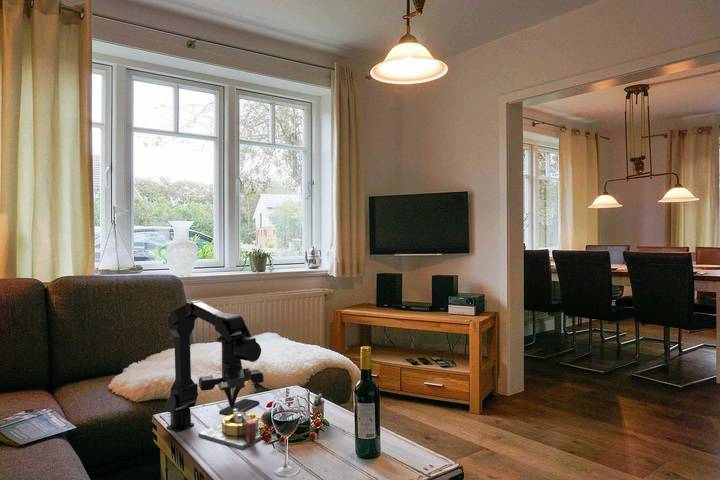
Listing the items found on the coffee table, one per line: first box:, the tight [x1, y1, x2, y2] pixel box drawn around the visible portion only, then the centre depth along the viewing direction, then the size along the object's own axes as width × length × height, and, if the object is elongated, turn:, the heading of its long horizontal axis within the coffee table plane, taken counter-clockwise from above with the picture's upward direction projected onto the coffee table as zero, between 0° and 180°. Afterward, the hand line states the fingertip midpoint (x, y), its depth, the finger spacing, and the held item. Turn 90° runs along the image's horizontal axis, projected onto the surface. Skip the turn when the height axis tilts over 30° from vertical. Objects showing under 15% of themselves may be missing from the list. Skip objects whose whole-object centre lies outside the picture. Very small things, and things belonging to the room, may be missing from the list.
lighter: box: [311, 393, 325, 420], centre depth 166 cm, size 8×3×10 cm, turn 168°
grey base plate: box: [198, 408, 262, 450], centre depth 160 cm, size 19×18×6 cm
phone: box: [218, 398, 260, 416], centre depth 182 cm, size 8×1×15 cm
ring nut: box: [221, 412, 259, 445], centre depth 157 cm, size 18×11×6 cm, turn 30°
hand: (231, 407), depth 149 cm, fingers closed
